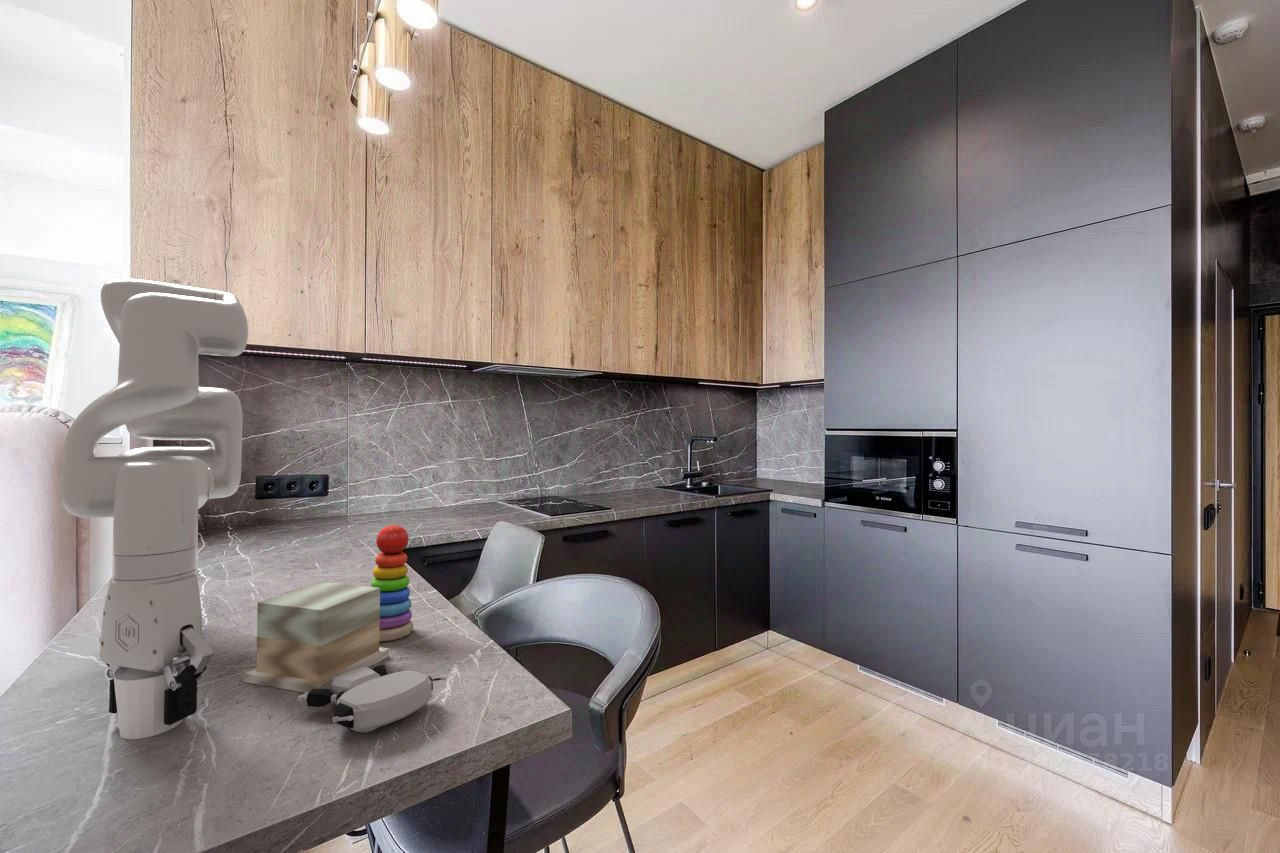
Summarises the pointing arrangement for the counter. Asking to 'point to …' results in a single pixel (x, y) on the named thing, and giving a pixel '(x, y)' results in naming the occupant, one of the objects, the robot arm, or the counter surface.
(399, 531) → the stacking toy
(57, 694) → the counter surface
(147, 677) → the shot glass
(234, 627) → the counter surface
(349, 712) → the robot toy
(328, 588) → the patterned box
